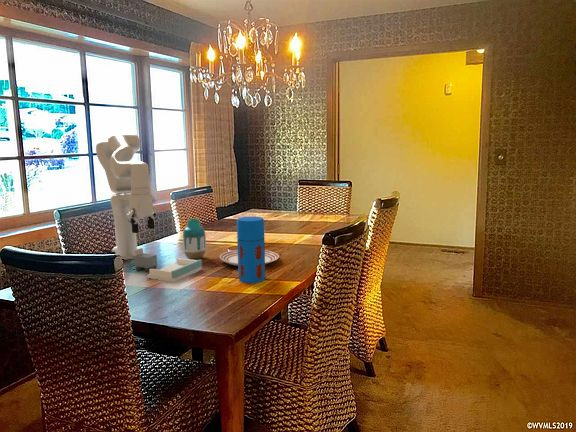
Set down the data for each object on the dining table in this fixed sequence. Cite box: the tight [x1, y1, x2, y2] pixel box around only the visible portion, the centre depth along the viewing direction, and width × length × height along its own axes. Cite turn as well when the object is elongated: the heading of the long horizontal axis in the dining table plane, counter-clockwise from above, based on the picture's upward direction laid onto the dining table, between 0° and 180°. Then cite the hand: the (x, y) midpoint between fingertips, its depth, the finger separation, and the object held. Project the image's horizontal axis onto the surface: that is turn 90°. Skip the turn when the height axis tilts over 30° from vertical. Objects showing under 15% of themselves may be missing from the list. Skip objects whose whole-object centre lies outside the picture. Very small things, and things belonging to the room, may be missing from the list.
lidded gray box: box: [133, 247, 158, 273], centre depth 201 cm, size 8×6×9 cm
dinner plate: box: [219, 249, 280, 267], centre depth 213 cm, size 28×27×3 cm
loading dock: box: [146, 257, 203, 283], centre depth 195 cm, size 14×19×4 cm
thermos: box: [236, 216, 266, 284], centre depth 185 cm, size 11×11×25 cm
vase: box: [182, 217, 207, 260], centre depth 218 cm, size 11×11×19 cm
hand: (143, 230), depth 199 cm, fingers open, 9 cm apart
